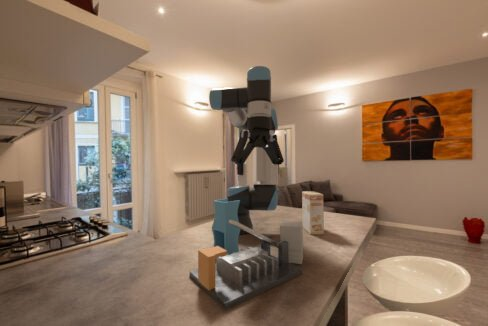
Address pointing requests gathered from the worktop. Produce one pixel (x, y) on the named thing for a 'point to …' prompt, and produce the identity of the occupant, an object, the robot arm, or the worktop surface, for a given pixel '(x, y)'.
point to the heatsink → (249, 273)
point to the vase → (226, 225)
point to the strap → (254, 233)
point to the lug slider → (208, 265)
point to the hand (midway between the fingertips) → (259, 185)
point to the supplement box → (293, 240)
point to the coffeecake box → (313, 212)
